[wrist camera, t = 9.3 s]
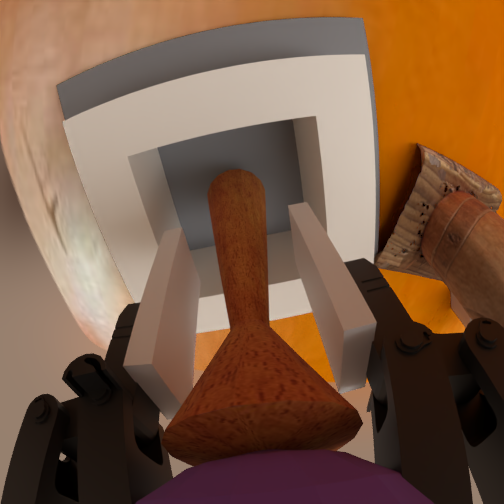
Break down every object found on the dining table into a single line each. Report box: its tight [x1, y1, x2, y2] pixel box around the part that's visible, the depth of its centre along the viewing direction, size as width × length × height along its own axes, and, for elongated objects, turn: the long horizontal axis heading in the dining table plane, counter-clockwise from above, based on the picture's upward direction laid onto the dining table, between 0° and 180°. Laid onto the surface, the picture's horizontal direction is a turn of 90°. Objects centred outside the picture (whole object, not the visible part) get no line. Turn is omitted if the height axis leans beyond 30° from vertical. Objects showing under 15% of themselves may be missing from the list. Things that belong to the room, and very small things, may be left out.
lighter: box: [451, 292, 472, 328], centre depth 26 cm, size 7×2×8 cm, turn 29°
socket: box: [56, 17, 380, 333], centre depth 17 cm, size 20×20×6 cm
